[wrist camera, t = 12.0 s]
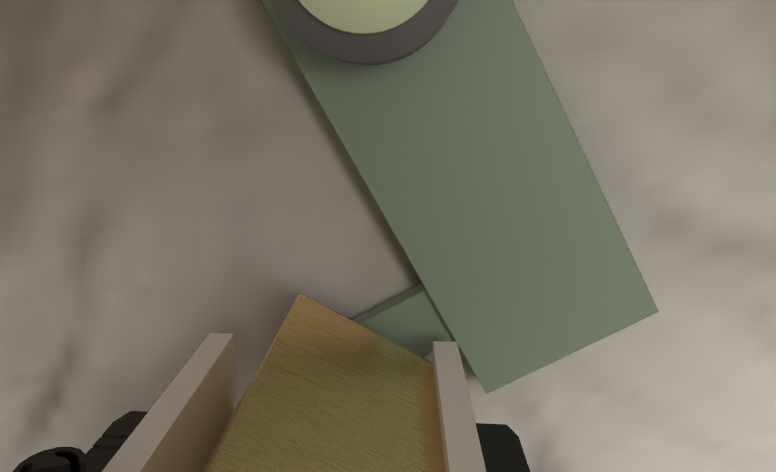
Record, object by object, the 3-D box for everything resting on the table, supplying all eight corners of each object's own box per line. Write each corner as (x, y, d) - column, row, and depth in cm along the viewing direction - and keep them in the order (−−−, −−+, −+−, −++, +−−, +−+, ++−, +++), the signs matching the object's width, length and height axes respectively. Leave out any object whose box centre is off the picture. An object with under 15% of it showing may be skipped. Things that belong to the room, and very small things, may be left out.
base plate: (207, -616, 13) (114, -958, 9) (642, 297, 18) (714, 359, 14) (-152, -317, 15) (-379, -483, 10) (345, 441, 20) (330, 534, 16)
